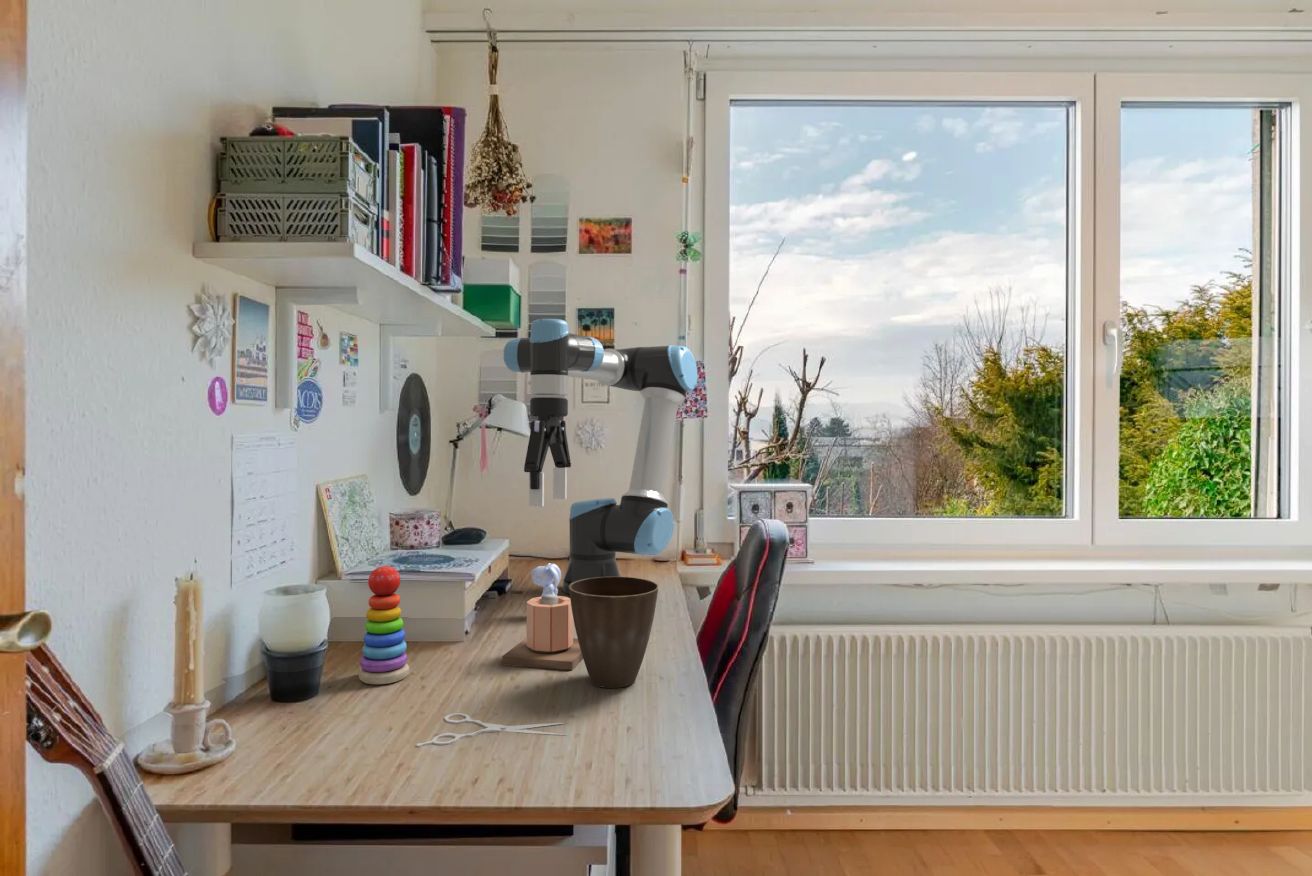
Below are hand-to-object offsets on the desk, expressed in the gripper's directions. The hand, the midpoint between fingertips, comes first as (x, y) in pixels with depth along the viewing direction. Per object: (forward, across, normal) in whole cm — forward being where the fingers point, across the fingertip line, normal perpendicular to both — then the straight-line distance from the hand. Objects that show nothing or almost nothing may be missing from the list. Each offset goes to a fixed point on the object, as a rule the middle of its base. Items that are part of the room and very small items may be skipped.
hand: (548, 502), depth 148 cm
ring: (+25, +13, +5) cm, 28 cm away
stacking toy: (+27, +30, -18) cm, 44 cm away
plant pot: (+27, +22, +20) cm, 40 cm away
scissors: (+27, +45, +9) cm, 53 cm away
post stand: (+27, +13, +5) cm, 30 cm away
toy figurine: (+27, -12, -5) cm, 30 cm away
